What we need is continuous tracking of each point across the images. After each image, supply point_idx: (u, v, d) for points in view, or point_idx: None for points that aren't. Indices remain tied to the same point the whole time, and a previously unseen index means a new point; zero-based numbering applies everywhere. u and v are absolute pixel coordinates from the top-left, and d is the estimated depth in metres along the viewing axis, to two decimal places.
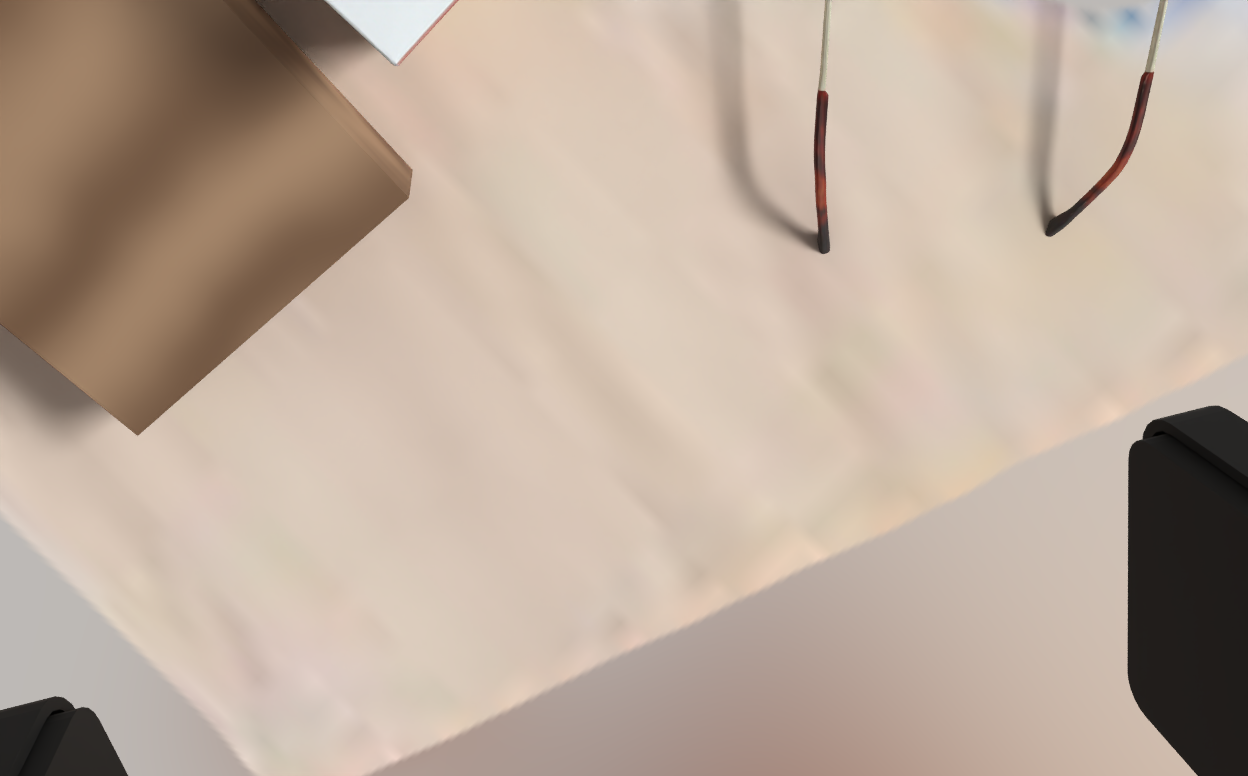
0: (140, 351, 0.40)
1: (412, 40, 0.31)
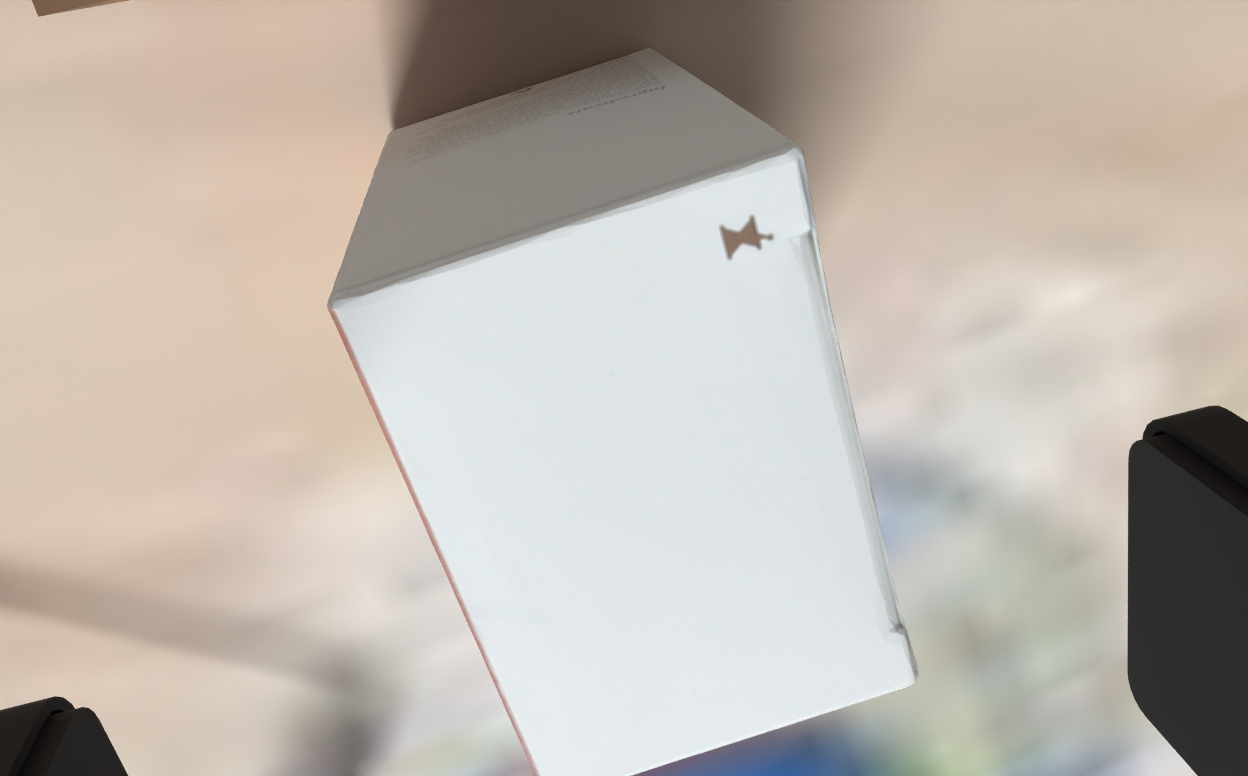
0: None
1: (371, 372, 0.12)
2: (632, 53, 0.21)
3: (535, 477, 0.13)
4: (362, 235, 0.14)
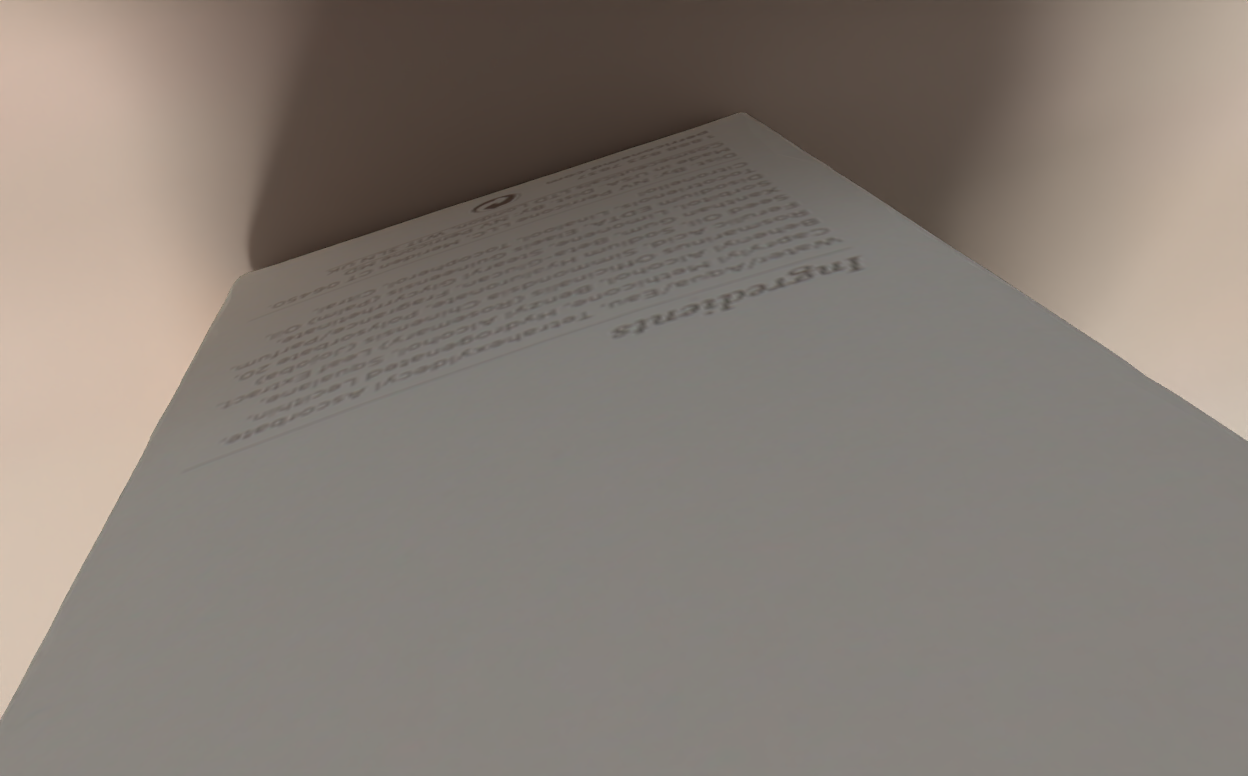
0: None
1: None
2: (709, 123, 0.11)
3: None
4: None
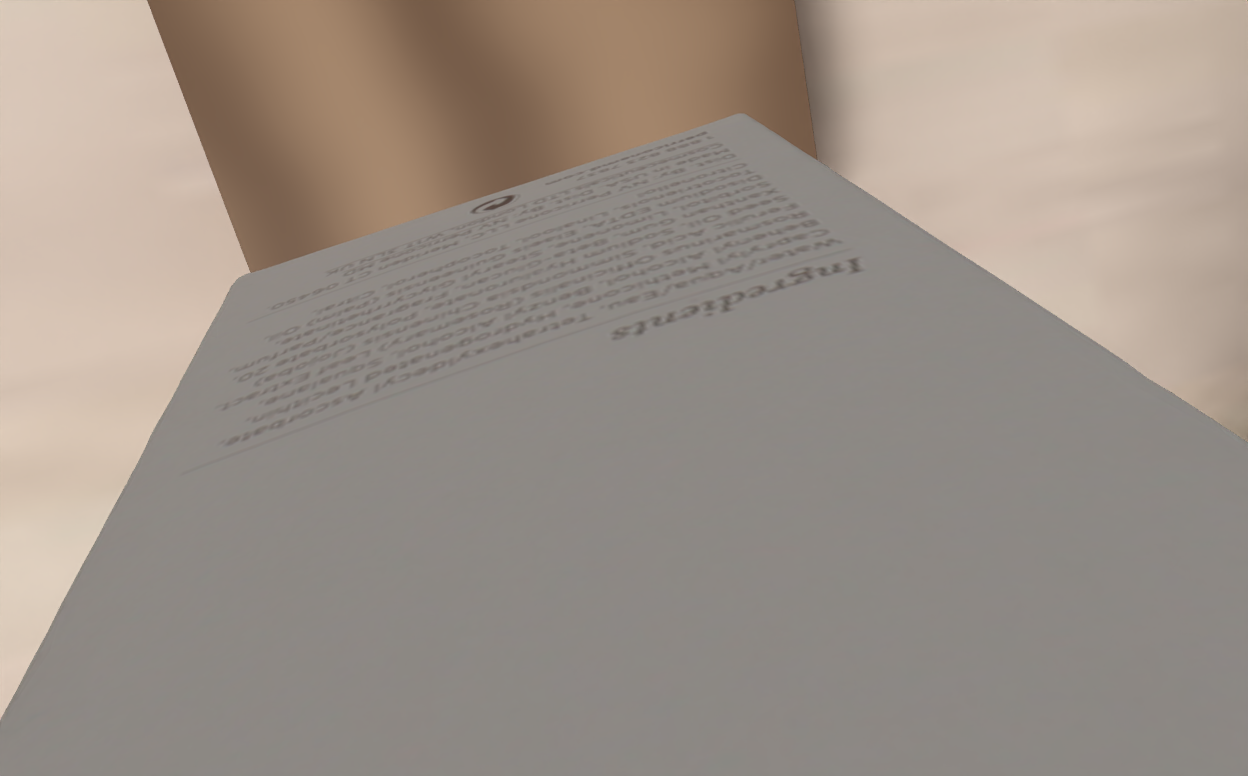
0: (264, 22, 0.24)
1: None
2: (708, 124, 0.11)
3: None
4: None
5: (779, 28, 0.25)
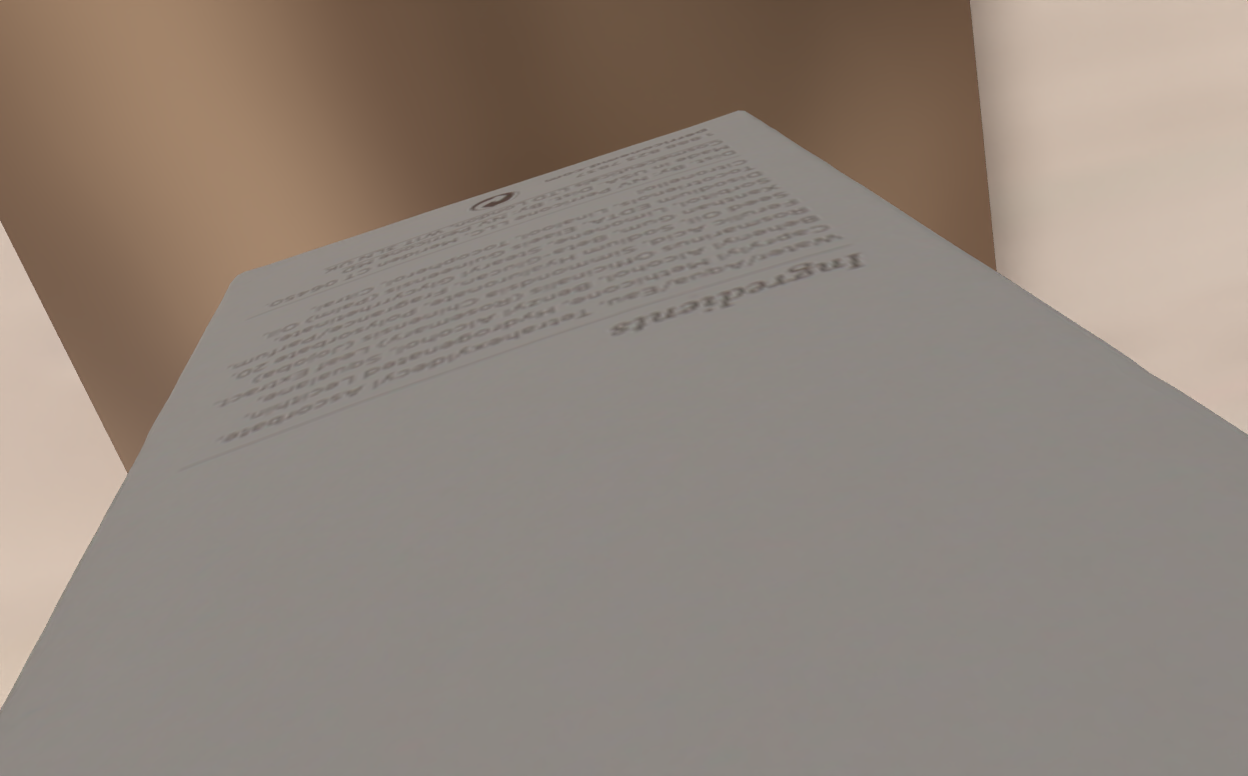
0: (161, 182, 0.15)
1: None
2: (708, 121, 0.11)
3: None
4: None
5: (956, 157, 0.17)
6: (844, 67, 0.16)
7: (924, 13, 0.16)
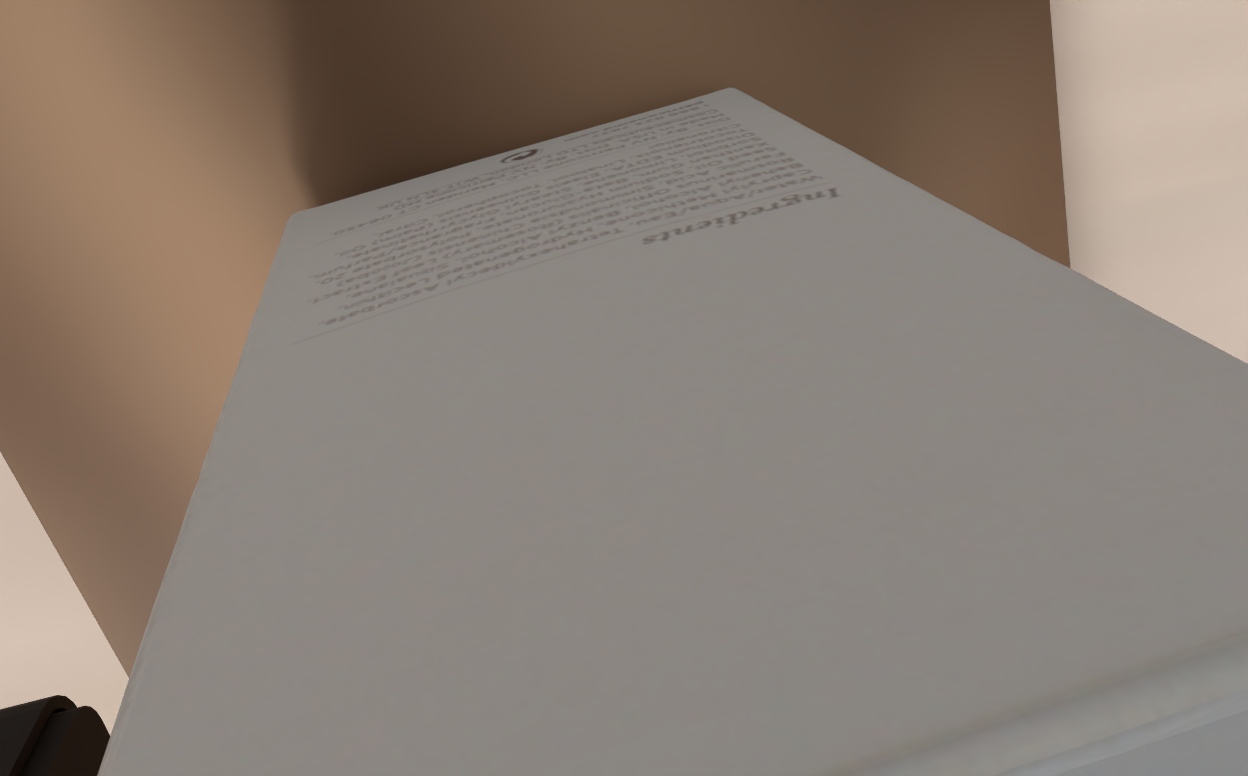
0: (90, 224, 0.13)
1: None
2: (703, 95, 0.12)
3: None
4: (178, 623, 0.05)
5: (1030, 182, 0.14)
6: (900, 79, 0.13)
7: (996, 13, 0.13)
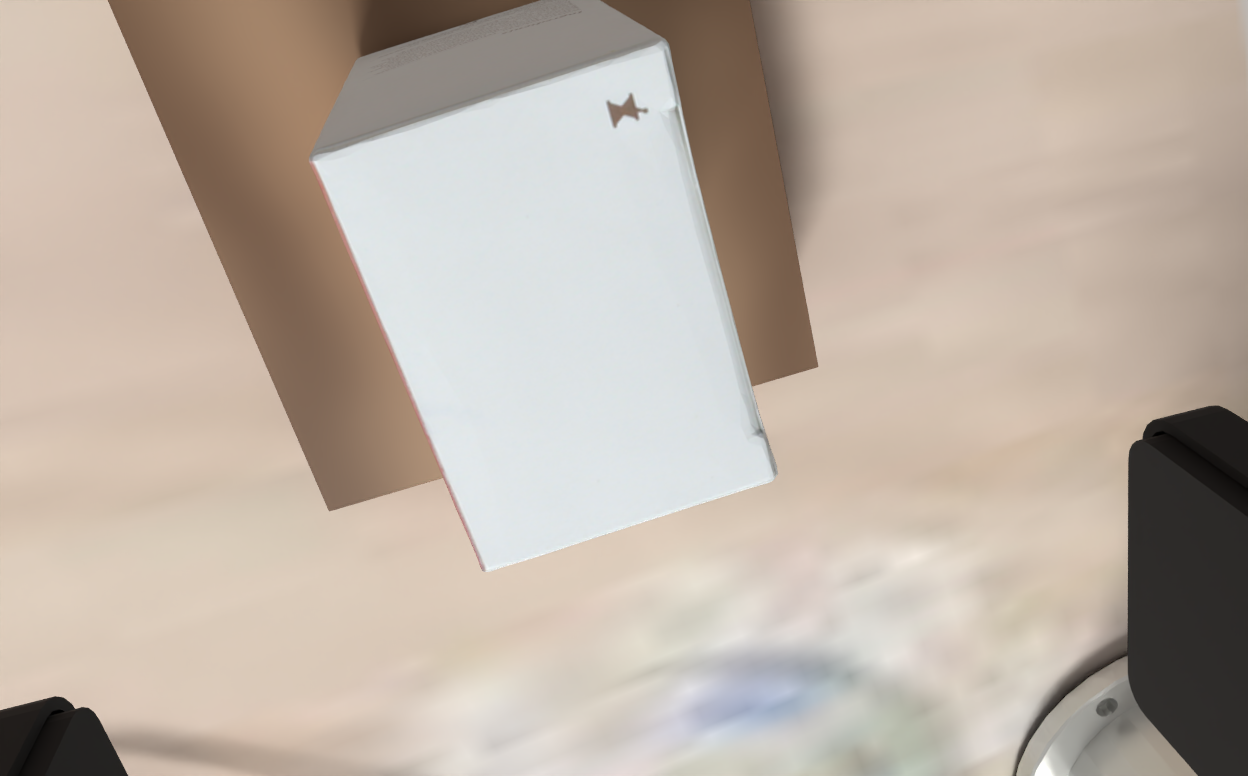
0: (247, 76, 0.25)
1: (343, 212, 0.16)
2: None
3: (470, 298, 0.17)
4: (334, 118, 0.17)
5: (742, 62, 0.26)
6: (665, 5, 0.25)
7: None
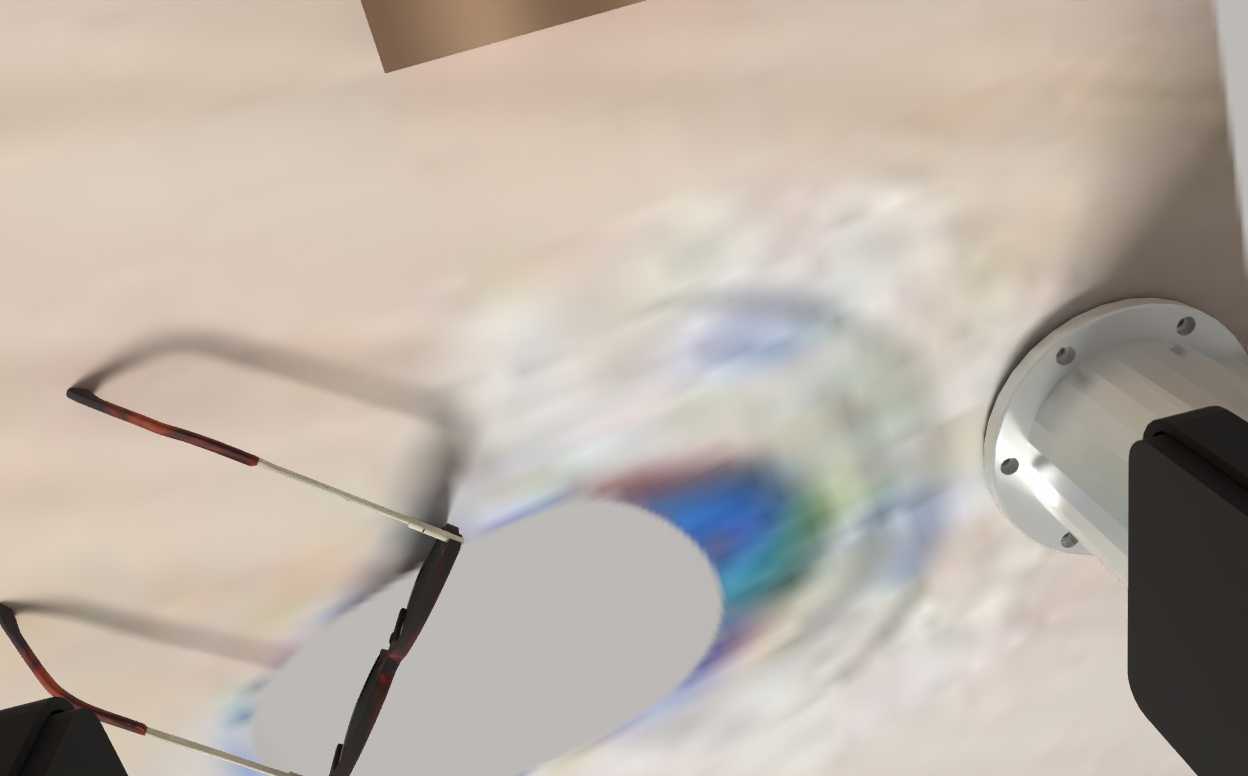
0: None
1: None
2: None
3: None
4: None
5: None
6: None
7: None
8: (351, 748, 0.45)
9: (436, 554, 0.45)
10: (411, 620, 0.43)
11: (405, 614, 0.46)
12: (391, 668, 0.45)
